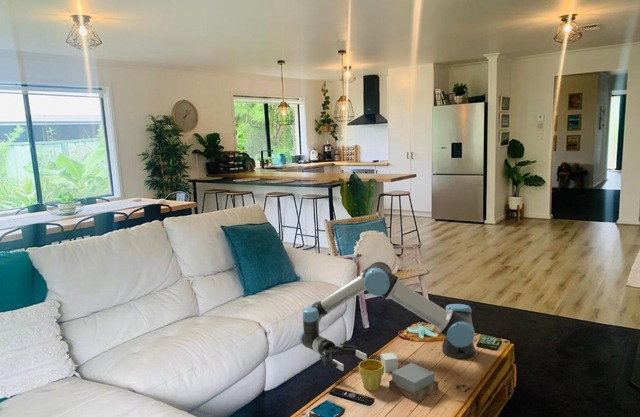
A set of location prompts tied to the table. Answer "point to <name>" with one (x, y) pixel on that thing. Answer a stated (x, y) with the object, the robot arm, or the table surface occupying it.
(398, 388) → the walnut base slab
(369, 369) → the plant pot
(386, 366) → the matte white cube
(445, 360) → the table surface
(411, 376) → the gray square slab
